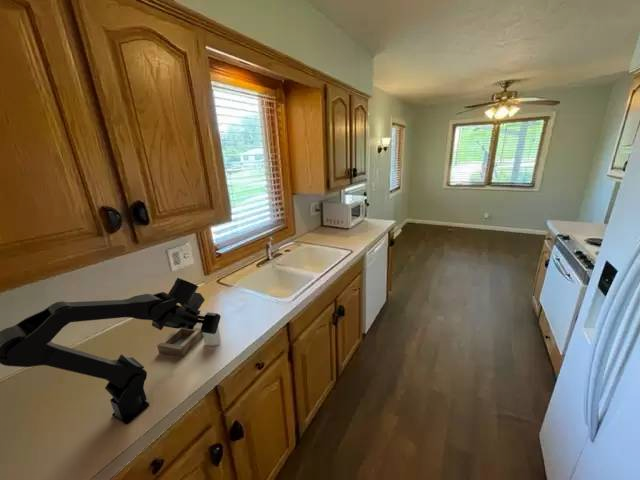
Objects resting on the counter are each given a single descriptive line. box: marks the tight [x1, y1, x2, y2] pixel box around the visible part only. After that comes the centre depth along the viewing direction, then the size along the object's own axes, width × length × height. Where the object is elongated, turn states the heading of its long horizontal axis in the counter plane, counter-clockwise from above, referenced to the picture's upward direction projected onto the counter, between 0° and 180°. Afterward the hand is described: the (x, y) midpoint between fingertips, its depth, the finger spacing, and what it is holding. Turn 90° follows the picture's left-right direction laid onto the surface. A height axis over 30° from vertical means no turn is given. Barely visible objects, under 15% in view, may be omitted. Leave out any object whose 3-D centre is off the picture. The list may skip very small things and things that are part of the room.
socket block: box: [157, 327, 204, 359], centre depth 100 cm, size 12×10×4 cm
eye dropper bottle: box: [203, 327, 222, 347], centre depth 99 cm, size 4×6×12 cm
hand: (206, 324), depth 97 cm, fingers open, 9 cm apart
